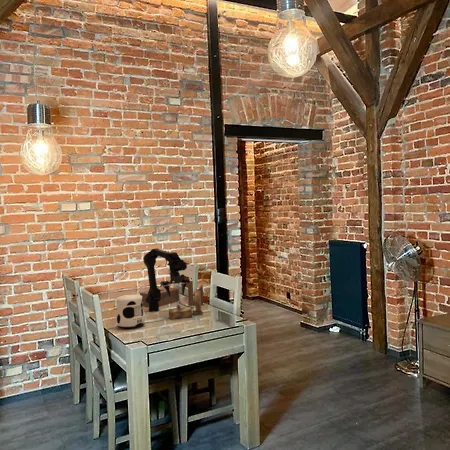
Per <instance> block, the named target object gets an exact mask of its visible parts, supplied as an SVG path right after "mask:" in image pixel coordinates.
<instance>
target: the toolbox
mask: <svg viewBox="0 0 450 450" xmlns="http://www.w3.org/2000/svg"><path fill="white" fill-rule="evenodd" d="M203 315H204V312H203V311H202V309H201V310H196V309H195V310H192V311H183V312H173V313H170V311H169V310H168V317H169V319H170V320H171V321H172V320H182V319H191V318H193V316H196V317H197V316H203Z"/></svg>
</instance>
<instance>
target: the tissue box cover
mask: <svg viewBox="0 0 450 450" xmlns="http://www.w3.org/2000/svg"><path fill="white" fill-rule="evenodd" d="M158 289H160V292H161V297H160V301H158V304H159V308H160V307H162V306H163V307H164V306H166V305H171V304H174V303H179V302H180V288H176V287H172V286H171V287H170V286H169V290H170V296H169V295H168V293H167V291H166V289H165V288H164V287H163V286H162V287H159V288H158ZM148 291H149V290H146V291H142V292H139V295H141V296H142V298H143V308H144V307H145V308H149V304H148V303H146V298H147V297H148ZM178 301H179V302H178Z"/></svg>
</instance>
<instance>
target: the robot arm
mask: <svg viewBox="0 0 450 450" xmlns="http://www.w3.org/2000/svg"><path fill="white" fill-rule="evenodd" d="M158 257H161V258H163V259H164V261H166V262H167V264H166V266H169V269H168V270H169V278H170V280H165V281H164V280H163V281H160V286H161V287H162V288H163V287H164V288H165V289H166V291H167V293H168V295H169V296H170V290H169V287H170V285H174V284H180V286H181V287H180V288H181V292H182V295H184V294H185V290H186V287H187V286H188V283H190V281H191V280H190V278H186V275H185V274H184V273H182V274H180V272H181V271H186V270H187V268H188V265H187V262H186V261H185V260H184V259H181V257H180V255H179V254H178V253H177V252H176V251H175V252H174V251H170V252H169V251H165V250H163V249H159V248H152V249H151V250H150V251H147V253H145V254H144V255H143V258H142V259H143V263H144V265H145V267H146V269H147V277H148V283H149V284H148V286H149V289H148V290H147V291H148V297H147V298H146V303H148V304H149V307H148V312H151V313H152V312H159V310H160V307H159V304H158V301H160V297H161V292H160V289H159V288H158V286H157V285H158V284H157V277H156V269H155V266H156V263H157V259H158Z"/></svg>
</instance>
